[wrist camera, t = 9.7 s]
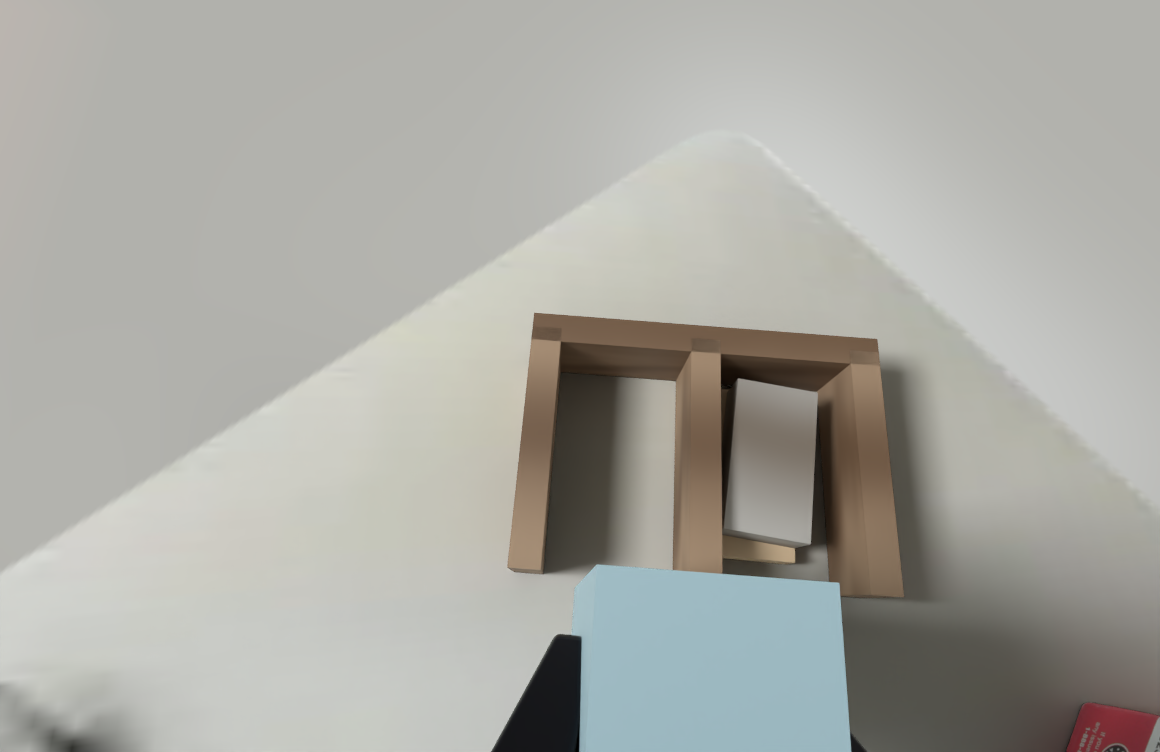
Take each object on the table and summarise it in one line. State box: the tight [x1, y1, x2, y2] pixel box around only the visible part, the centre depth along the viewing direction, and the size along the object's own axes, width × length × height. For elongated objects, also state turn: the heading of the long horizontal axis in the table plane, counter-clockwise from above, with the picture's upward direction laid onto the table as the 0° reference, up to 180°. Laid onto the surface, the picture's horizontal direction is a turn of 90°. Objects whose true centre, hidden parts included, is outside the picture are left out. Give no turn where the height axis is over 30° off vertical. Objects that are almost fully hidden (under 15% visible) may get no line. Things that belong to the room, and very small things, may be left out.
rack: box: [508, 313, 904, 598], centre depth 22 cm, size 8×12×3 cm
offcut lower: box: [721, 389, 795, 564], centre depth 23 cm, size 6×3×2 cm, turn 175°
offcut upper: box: [721, 378, 818, 548], centre depth 21 cm, size 5×3×2 cm, turn 170°
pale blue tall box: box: [572, 564, 851, 752], centre depth 10 cm, size 5×2×10 cm, turn 176°
